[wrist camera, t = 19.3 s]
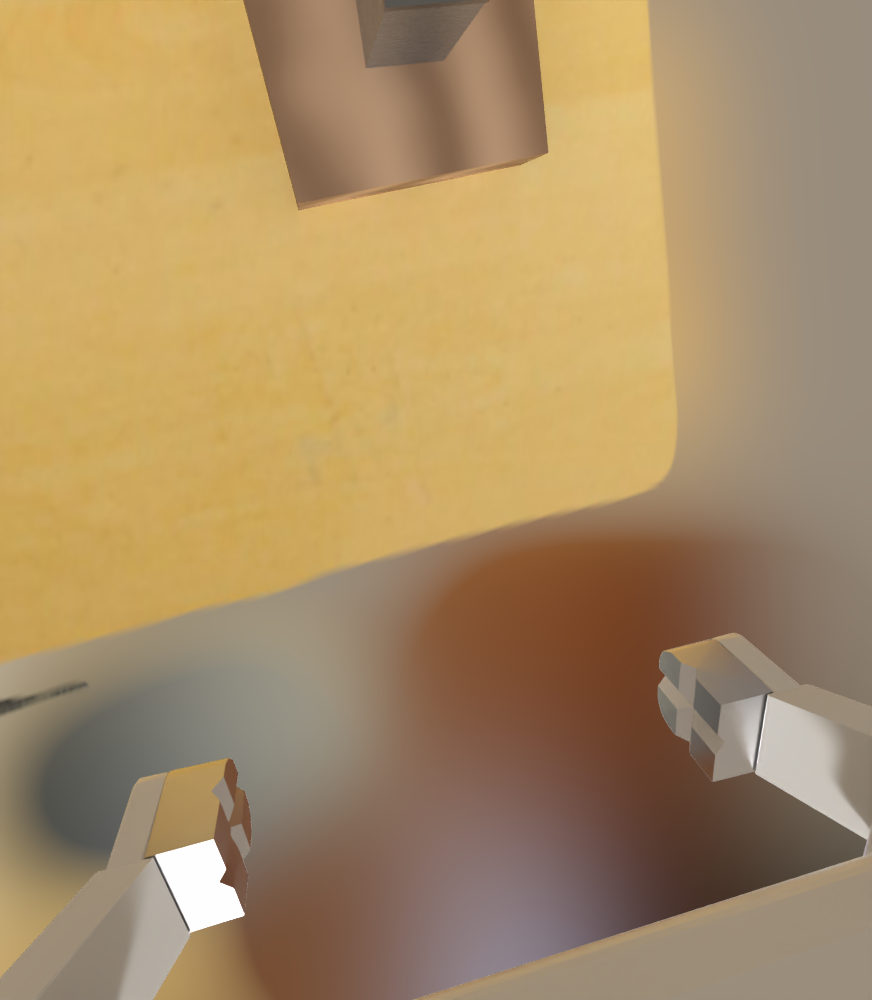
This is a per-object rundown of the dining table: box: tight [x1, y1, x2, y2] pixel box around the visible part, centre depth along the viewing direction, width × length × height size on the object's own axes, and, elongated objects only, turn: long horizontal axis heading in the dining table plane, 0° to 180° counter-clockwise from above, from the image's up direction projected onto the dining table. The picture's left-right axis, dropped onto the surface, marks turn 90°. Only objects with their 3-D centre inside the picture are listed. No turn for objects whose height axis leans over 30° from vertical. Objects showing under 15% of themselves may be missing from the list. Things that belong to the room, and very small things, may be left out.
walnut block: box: [243, 0, 548, 210], centre depth 30 cm, size 14×14×5 cm
